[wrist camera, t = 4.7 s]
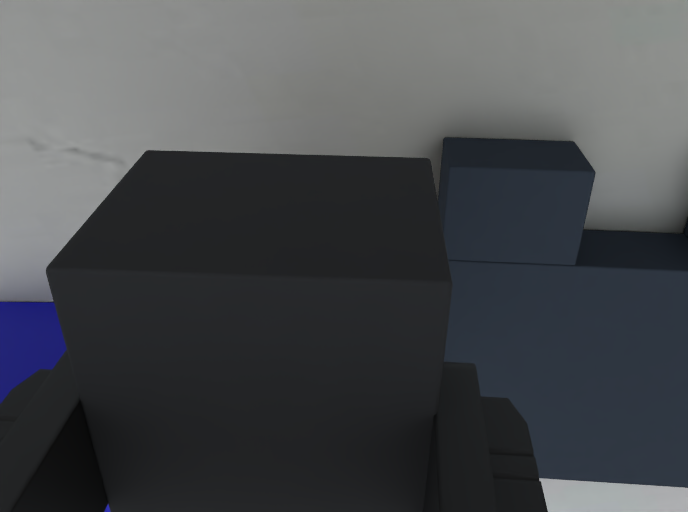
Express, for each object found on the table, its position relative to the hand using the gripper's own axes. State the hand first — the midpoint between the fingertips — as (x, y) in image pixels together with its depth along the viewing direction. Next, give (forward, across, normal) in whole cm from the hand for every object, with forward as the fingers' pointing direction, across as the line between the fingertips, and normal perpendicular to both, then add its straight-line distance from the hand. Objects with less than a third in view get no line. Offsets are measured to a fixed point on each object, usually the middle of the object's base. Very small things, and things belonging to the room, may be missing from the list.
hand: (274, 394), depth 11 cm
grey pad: (+11, -9, +5) cm, 16 cm away
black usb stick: (+2, 0, +1) cm, 3 cm away
